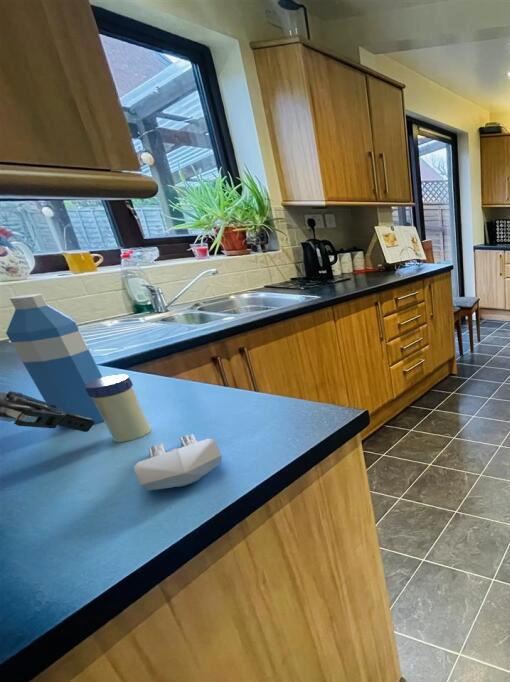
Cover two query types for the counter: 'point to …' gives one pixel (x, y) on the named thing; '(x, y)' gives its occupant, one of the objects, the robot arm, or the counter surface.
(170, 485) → the white elongated knobbed piece
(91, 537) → the counter surface
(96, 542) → the counter surface
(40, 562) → the counter surface
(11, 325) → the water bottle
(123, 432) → the jar
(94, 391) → the lid
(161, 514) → the counter surface
